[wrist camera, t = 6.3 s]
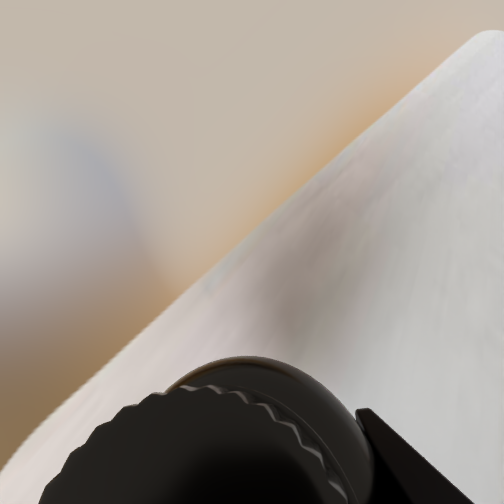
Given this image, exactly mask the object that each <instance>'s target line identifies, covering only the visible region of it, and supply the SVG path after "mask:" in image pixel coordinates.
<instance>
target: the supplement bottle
mask: <svg viewBox="0 0 504 504" xmlns="http://www.w3.org/2000/svg"><path fill="white" fill-rule="evenodd" d="M38 504H395V503H394V500H393V497H392V494H391V491H390V488H389V485H388V482H387V479H386V477H385V474H384V472H383V469H382V467H381V464H380V462H379V460H378V458H377V456H376V454H375V452H374V450H373V448H372V446H371V444H370V442H369V441H368V439H367V437H366V435H365V434H364V432H363V430H362V429H361V427H360V426H359V425H358V423H357V422H356V420H355V419H354V417H353V416H352V415H351V414H350V412H349V411H348V410H347V409H346V408H345V406H344V405H343V404H342V403H341V402H340V401H339V400H338V399H337V398H336V397H335V396H334V395H333V394H332V393H331V392H330V391H329V390H328V389H327V388H325V387H324V386H323V385H322V384H321V383H319V382H318V381H317V380H315V379H314V378H312V377H311V376H310V375H308V374H306V373H304V372H303V371H301V370H299V369H297V368H295V367H293V366H291V365H289V364H286V363H283V362H280V361H277V360H274V359H269V358H265V357H257V356H237V357H229V358H224V359H220V360H216V361H213V362H210V363H208V364H205V365H203V366H201V367H198V368H196V369H195V370H193V371H191V372H189V373H188V374H186V375H185V376H183V377H182V378H180V379H179V380H177V381H176V382H175V383H174V384H172V385H171V386H170V387H169V388H168V389H167V390H166V391H165V392H164V393H160V392H155V393H152V394H150V395H149V396H147V397H146V398H145V399H143V400H142V401H141V402H140V403H139V404H133V405H128V406H125V407H123V408H122V409H121V410H120V411H119V412H118V413H117V414H116V416H115V417H114V418H113V419H112V420H111V421H109V422H106V423H103V424H101V425H99V426H97V427H96V428H95V430H94V431H93V432H92V434H91V435H90V437H89V438H88V440H87V441H86V443H85V444H84V445H82V446H81V447H78V448H77V449H75V450H74V451H73V452H71V453H70V455H69V457H68V458H67V460H66V462H65V464H64V466H63V468H62V470H61V472H60V473H59V474H58V475H57V476H56V477H55V478H53V479H52V480H51V481H50V482H49V483H48V484H47V485H46V486H45V489H44V491H43V493H42V496H41V498H40V501H39V503H38Z"/></svg>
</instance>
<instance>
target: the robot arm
mask: <svg viewBox="0 0 504 504" xmlns="http://www.w3.org/2000/svg"><path fill="white" fill-rule="evenodd" d="M355 415H356V422H357V423H358V425H359V426H360V427H361V429H362V430H363V432H364V434H365V435H366V437H367V439H368V441H369V442H370V444H371V446H372V448H373V450H374V452H375V454H376V456H377V458H378V460H379V462H380V464H381V467H382V469H383V472H384V474H385V477H386V479H387V482H388V485H389V488H390V491H391V494H392V497H393V500H394V503H395V504H474V503H473V502H472V501H471V500H470V499H469V498H467V497H466V496H465V495H464V494H463V493H462V492H461V491H460V490H459V489H458V488H457V487H455V486H454V485H453V484H452V483H451V482H450V481H449V480H448V479H447V478H446V477H444V476H443V475H442V474H441V473H440V472H439V471H438V470H437V469H436V468H435V467H434V466H432V465H431V464H430V463H429V462H428V461H427V460H426V459H425V458H424V457H423V456H421V455H420V454H419V453H418V452H417V451H416V450H415V449H414V448H413V447H412V446H411V445H409V444H408V443H407V442H406V441H405V440H404V439H403V438H402V437H401V436H400V435H398V434H397V433H396V432H395V431H394V430H393V429H392V428H391V427H390V426H389V425H387V424H386V423H385V422H384V421H383V420H382V419H381V418H380V417H379V416H378V415H377V414H375V413H374V412H373V411H372V410H371V409H369V408H362V409H357V410H356V411H355Z"/></svg>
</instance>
